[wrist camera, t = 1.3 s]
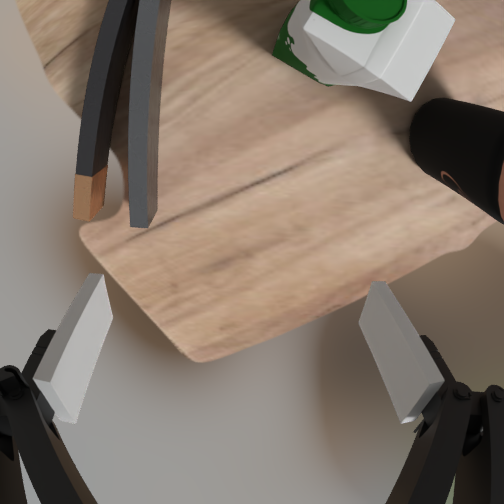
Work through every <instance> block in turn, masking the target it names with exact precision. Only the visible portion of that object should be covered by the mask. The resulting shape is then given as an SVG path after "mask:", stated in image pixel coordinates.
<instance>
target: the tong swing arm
mask: <svg viewBox="0 0 504 504" xmlns="http://www.w3.org/2000/svg"><path fill="white" fill-rule="evenodd" d="M139 1H140V0H109V2H108V5H107V8H106V11H105V14H104V18H103V21H102V25H101V28H100V32H99V35H98V39H97V43H96V47H95V51H94V55H93V60H92V64H91V69H90V74H89V79H88V84H87V89H86V95H85V100H84V106H83V113H82V120H81V127H80V135H79V144H78V154H77V166H76V174H75V185H74V209H73V211H74V212H73V218H75V219H80V220H84V221H89V222H90V220H91V219H92V218H93V217H94V216H95V215H96V214H97V212H98V211H99V210H100V209H101V208H102V207H103V206H104V198H105V187H106V177H107V168H108V165H107V164H108V156H109V148H110V141H111V135H112V128H113V122H114V116H115V111H116V105H117V100H118V95H119V90H120V85H121V81H122V76H123V72H124V67H125V63H126V59H127V55H128V51H129V47H130V43H131V40H132V36H133V33H134V29H135V26H136V22H137V15H138V8H139Z"/></svg>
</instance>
